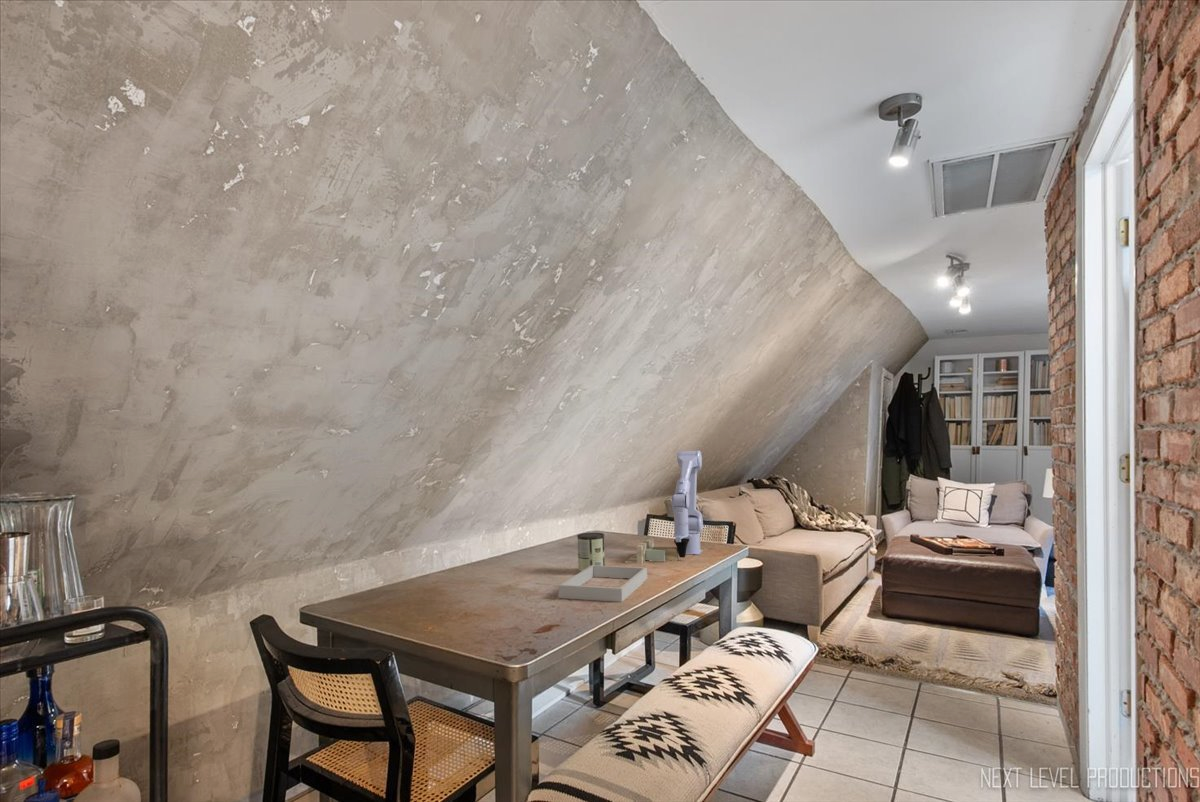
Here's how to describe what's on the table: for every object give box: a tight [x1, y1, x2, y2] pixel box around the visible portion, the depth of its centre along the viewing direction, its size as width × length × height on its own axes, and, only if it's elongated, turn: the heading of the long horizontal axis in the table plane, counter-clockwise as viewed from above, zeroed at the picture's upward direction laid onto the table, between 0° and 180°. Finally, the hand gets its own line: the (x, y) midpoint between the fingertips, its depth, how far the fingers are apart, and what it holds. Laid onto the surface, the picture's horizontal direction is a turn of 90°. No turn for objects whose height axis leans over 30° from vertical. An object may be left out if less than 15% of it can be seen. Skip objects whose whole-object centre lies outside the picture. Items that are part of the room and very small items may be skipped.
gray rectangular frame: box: [558, 565, 648, 603], centre depth 213 cm, size 32×21×4 cm, turn 162°
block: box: [646, 546, 666, 562], centre depth 260 cm, size 9×8×4 cm
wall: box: [624, 537, 654, 564], centre depth 262 cm, size 20×7×7 cm, turn 162°
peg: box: [652, 546, 680, 562], centre depth 259 cm, size 4×10×5 cm, turn 72°
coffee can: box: [576, 532, 606, 573], centre depth 240 cm, size 10×10×14 cm
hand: (682, 557), depth 257 cm, fingers closed, pressing on peg
